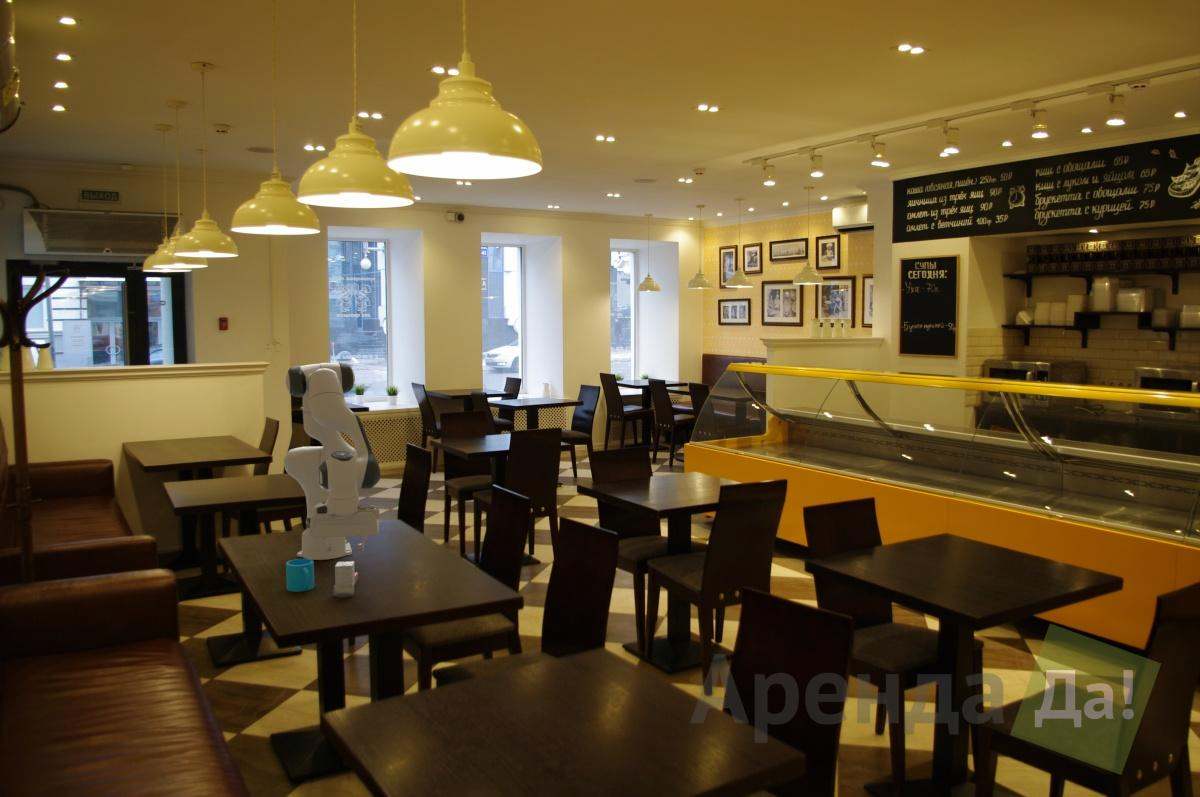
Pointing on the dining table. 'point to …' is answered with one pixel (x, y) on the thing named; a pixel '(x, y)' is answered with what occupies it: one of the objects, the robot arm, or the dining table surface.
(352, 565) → the brushed steel block
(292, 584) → the mug
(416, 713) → the dining table surface
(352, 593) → the ratchet
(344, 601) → the dining table surface
